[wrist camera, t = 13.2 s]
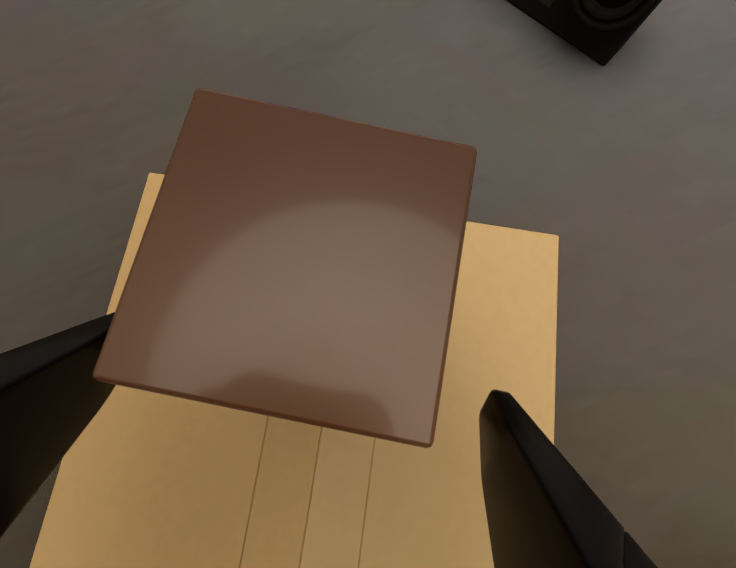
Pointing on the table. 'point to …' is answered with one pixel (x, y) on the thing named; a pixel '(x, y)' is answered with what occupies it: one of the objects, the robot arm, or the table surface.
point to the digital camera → (591, 22)
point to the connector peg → (297, 270)
